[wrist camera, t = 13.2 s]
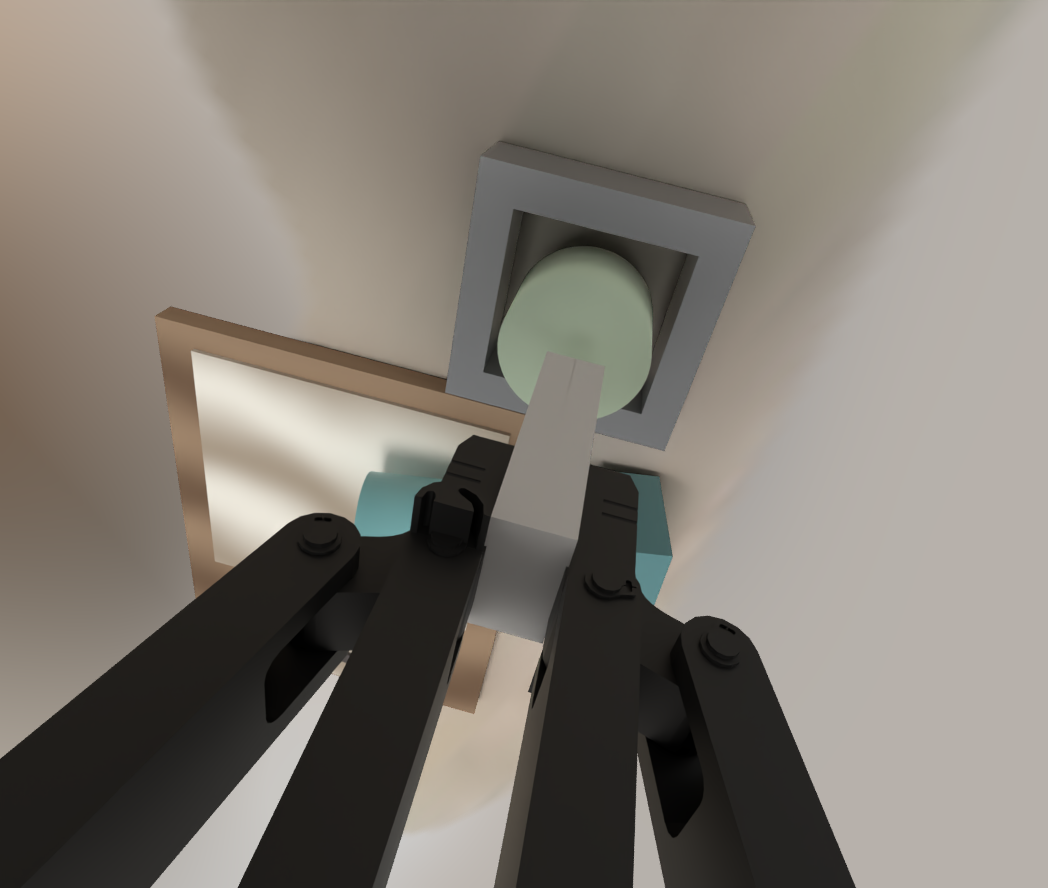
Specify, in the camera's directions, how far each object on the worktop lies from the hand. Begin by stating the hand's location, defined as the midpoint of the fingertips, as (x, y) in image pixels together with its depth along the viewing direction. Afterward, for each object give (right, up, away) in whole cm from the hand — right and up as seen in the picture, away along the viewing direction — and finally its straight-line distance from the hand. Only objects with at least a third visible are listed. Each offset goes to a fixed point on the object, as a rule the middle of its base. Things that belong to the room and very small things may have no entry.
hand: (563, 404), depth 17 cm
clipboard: (-9, -6, +15) cm, 18 cm away
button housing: (+1, +4, +6) cm, 7 cm away
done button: (+1, +3, +4) cm, 5 cm away
